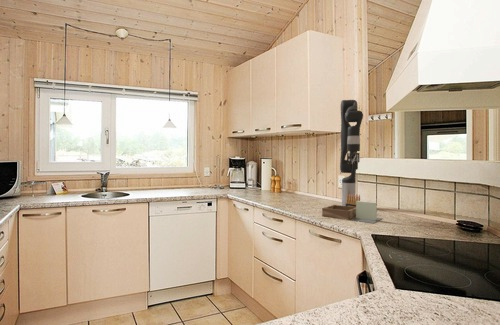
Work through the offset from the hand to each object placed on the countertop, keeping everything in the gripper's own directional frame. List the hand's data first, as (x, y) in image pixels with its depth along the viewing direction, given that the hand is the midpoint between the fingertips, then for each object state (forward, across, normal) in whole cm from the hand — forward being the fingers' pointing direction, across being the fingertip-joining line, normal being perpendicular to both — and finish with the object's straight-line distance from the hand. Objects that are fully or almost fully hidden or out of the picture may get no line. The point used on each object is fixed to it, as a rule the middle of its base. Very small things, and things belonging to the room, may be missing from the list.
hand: (353, 169), depth 200 cm
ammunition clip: (+28, -11, -4) cm, 31 cm away
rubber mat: (+28, +7, +11) cm, 31 cm away
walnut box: (+28, +6, -5) cm, 29 cm away
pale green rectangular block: (+28, +7, +11) cm, 31 cm away
